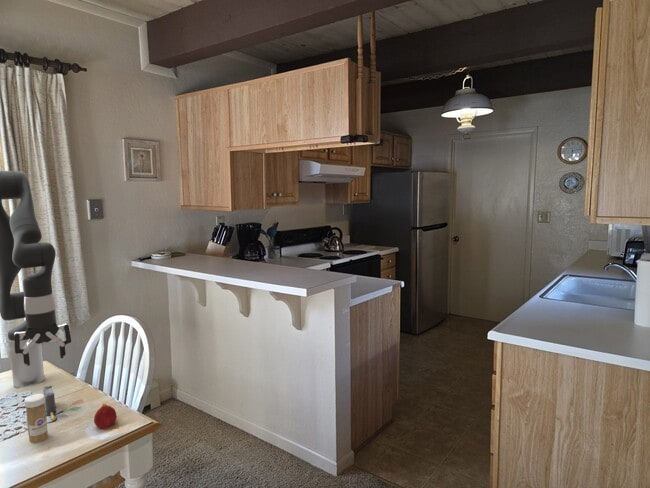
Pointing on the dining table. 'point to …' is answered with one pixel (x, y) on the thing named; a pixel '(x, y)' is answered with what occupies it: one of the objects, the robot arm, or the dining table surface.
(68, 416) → the tuner board
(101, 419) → the onion
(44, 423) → the sprinkles bottle
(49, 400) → the peg knob
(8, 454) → the dining table surface
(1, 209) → the robot arm
